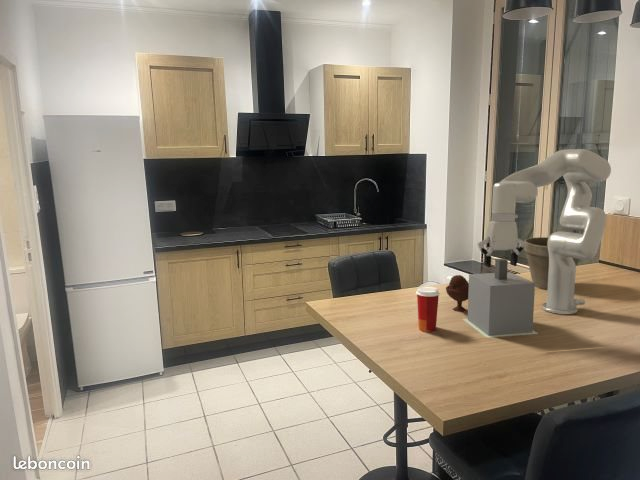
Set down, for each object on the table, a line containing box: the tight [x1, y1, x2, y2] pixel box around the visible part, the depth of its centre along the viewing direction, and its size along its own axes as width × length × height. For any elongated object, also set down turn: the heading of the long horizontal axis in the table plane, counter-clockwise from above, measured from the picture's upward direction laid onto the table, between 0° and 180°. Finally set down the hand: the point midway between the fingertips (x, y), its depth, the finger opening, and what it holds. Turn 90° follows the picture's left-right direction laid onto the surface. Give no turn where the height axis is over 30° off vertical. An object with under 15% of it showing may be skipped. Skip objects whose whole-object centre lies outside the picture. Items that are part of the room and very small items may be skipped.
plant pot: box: [523, 236, 580, 291], centre depth 213 cm, size 25×25×22 cm
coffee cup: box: [415, 286, 441, 333], centre depth 164 cm, size 8×8×15 cm
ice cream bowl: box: [445, 274, 469, 313], centre depth 183 cm, size 11×11×15 cm
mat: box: [462, 318, 539, 339], centre depth 166 cm, size 19×19×1 cm
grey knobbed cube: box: [467, 257, 536, 336], centre depth 163 cm, size 16×16×25 cm
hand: (500, 265), depth 161 cm, fingers open, 9 cm apart
